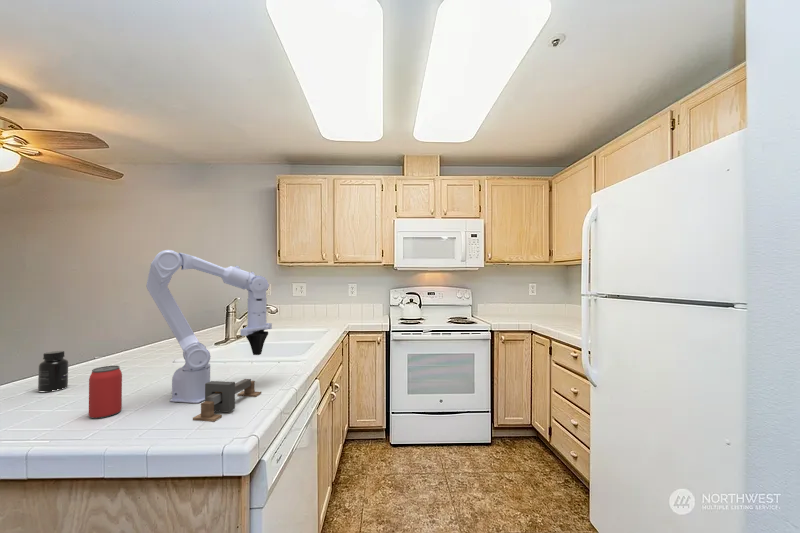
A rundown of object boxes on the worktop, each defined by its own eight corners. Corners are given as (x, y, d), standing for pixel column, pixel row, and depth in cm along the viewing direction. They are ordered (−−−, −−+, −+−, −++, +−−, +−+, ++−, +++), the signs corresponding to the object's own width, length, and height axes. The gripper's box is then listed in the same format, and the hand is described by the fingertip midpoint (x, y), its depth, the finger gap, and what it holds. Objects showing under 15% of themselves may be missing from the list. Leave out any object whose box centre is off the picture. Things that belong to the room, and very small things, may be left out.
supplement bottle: (71, 388, 113) (71, 351, 113) (41, 394, 107) (42, 355, 107) (64, 385, 116) (64, 349, 117) (35, 390, 111) (36, 353, 111)
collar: (205, 410, 91) (205, 383, 91) (211, 407, 93) (211, 380, 93) (229, 412, 90) (229, 384, 90) (234, 408, 92) (235, 381, 92)
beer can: (94, 421, 86) (94, 372, 86) (84, 416, 89) (85, 369, 90) (125, 412, 92) (126, 366, 92) (115, 407, 95) (116, 363, 95)
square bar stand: (192, 420, 86) (192, 399, 86) (243, 392, 106) (243, 375, 106) (214, 421, 85) (214, 400, 85) (261, 393, 105) (261, 376, 105)
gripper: (255, 315, 104) (255, 360, 104) (279, 310, 119) (279, 350, 118) (234, 314, 106) (234, 359, 105) (261, 310, 120) (261, 349, 120)
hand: (257, 354), depth 112 cm, fingers closed
